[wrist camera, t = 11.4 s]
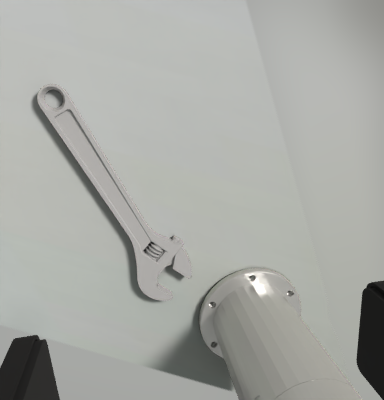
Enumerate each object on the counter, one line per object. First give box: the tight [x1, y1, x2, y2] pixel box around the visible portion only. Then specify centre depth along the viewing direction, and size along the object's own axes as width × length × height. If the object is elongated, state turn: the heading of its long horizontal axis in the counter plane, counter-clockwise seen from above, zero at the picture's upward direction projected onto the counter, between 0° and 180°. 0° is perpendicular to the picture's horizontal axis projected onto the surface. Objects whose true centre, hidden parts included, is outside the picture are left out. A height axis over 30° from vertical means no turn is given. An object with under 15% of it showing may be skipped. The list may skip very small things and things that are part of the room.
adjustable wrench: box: [37, 84, 192, 301], centre depth 37 cm, size 25×6×2 cm, turn 23°
